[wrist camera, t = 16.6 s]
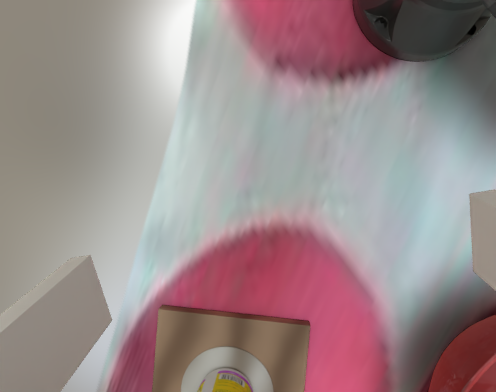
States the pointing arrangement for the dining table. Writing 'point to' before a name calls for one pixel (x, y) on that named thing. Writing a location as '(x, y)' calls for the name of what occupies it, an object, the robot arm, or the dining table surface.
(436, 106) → the dining table surface
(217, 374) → the supplement bottle
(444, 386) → the mixing bowl
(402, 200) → the dining table surface
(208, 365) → the brown flat square board
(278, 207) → the dining table surface
